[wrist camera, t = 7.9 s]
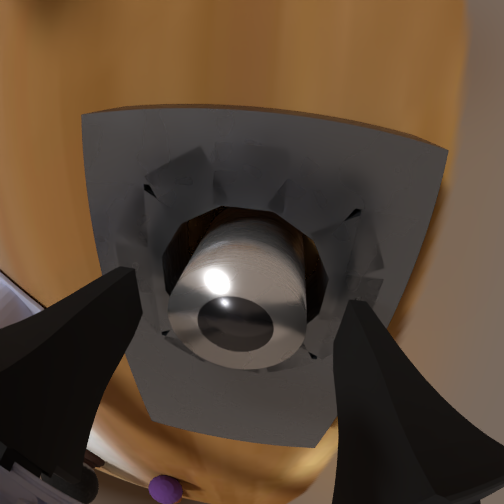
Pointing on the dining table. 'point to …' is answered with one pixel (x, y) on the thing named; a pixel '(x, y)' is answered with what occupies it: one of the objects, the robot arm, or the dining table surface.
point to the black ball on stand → (83, 489)
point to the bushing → (243, 291)
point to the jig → (267, 199)
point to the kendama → (165, 489)
